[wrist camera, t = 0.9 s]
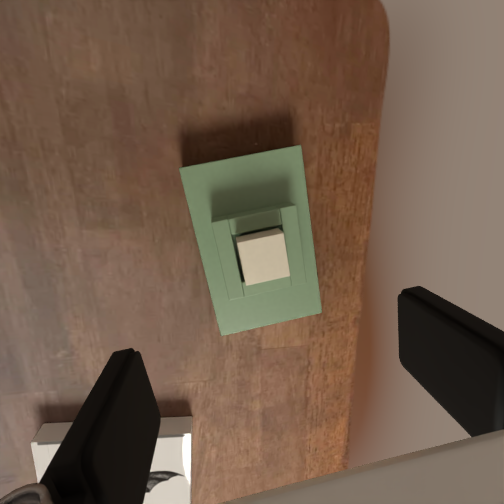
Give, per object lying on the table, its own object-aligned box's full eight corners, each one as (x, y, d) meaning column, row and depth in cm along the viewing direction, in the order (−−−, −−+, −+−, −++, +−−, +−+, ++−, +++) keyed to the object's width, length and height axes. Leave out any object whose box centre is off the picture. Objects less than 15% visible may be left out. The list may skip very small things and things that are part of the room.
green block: (182, 168, 22) (175, 167, 18) (293, 146, 23) (309, 142, 19) (220, 323, 26) (221, 349, 22) (313, 301, 27) (330, 323, 23)
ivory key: (235, 236, 21) (236, 242, 19) (278, 227, 21) (283, 232, 19) (243, 277, 21) (246, 286, 20) (284, 268, 22) (290, 276, 20)
